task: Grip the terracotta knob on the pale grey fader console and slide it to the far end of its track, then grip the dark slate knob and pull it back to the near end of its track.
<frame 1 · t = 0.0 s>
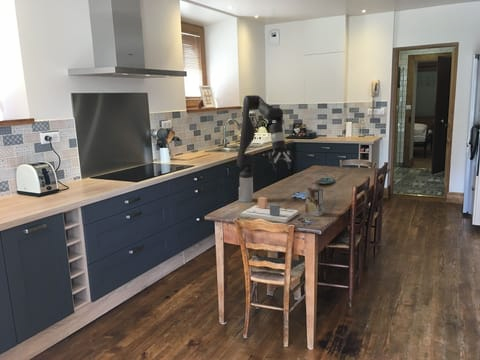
hand: (282, 169, 233), 31 cm above the table, tool tilted 20°, fingers open, 8 cm apart
slate fader: (274, 209, 246), point 5 cm above the table, slide at 16.0 cm
console: (269, 214, 255), on the table
coffee box: (314, 214, 255), on the table
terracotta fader: (262, 202, 263), point 5 cm above the table, slide at 2.0 cm
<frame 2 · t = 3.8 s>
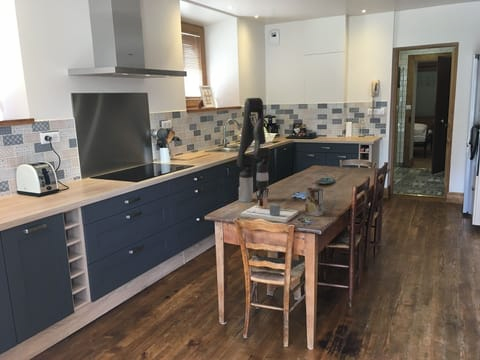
hand: (262, 205, 263), 4 cm above the table, tool pointing down, fingers closed on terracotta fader, 3 cm apart
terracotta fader: (262, 202, 263), point 5 cm above the table, slide at 2.0 cm, touching gripper
everything else where it was.
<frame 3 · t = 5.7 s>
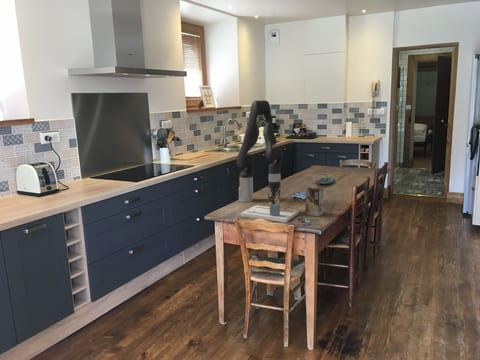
hand: (274, 206, 259), 4 cm above the table, tool pointing down, fingers closed on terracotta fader, 3 cm apart
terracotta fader: (274, 204, 259), point 6 cm above the table, slide at 10.4 cm, touching gripper
everything else where it was.
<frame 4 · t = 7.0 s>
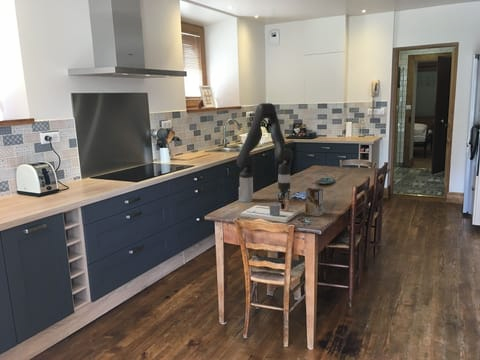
hand: (284, 208, 256), 4 cm above the table, tool pointing down, fingers closed on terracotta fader, 3 cm apart
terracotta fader: (284, 205, 256), point 5 cm above the table, slide at 16.9 cm, touching gripper
everything else where it was.
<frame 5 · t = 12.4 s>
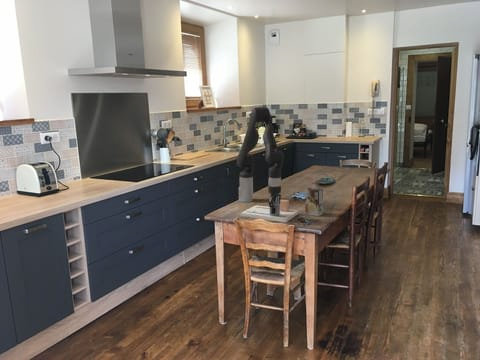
hand: (274, 212, 247), 4 cm above the table, tool pointing down, fingers closed on slate fader, 3 cm apart
slate fader: (274, 209, 246), point 5 cm above the table, slide at 16.0 cm, touching gripper
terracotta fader: (284, 205, 256), point 5 cm above the table, slide at 16.9 cm
everything else where it was.
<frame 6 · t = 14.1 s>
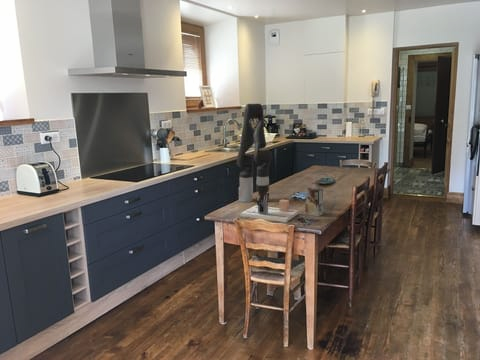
hand: (262, 211, 250), 4 cm above the table, tool pointing down, fingers closed on slate fader, 3 cm apart
slate fader: (262, 208, 250), point 5 cm above the table, slide at 8.1 cm, touching gripper
everything else where it was.
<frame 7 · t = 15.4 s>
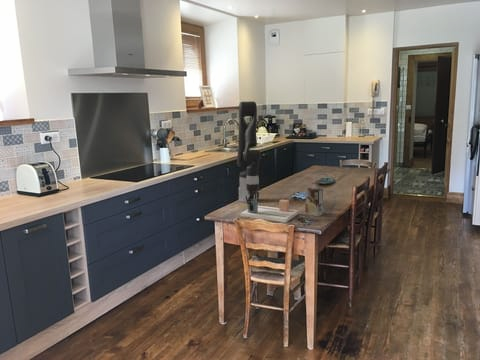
hand: (252, 209, 254), 4 cm above the table, tool pointing down, fingers closed on slate fader, 3 cm apart
slate fader: (252, 206, 253), point 6 cm above the table, slide at 1.2 cm, touching gripper
everything else where it was.
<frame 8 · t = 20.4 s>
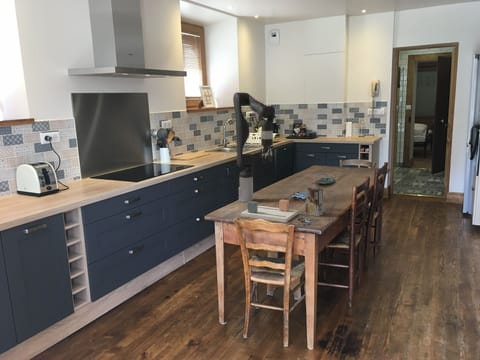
hand: (267, 163, 264), 30 cm above the table, tool pointing down, fingers open, 8 cm apart
slate fader: (252, 206, 253), point 5 cm above the table, slide at 1.1 cm
everything else where it was.
at the end: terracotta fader slide at 16.9 cm; slate fader slide at 1.1 cm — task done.
